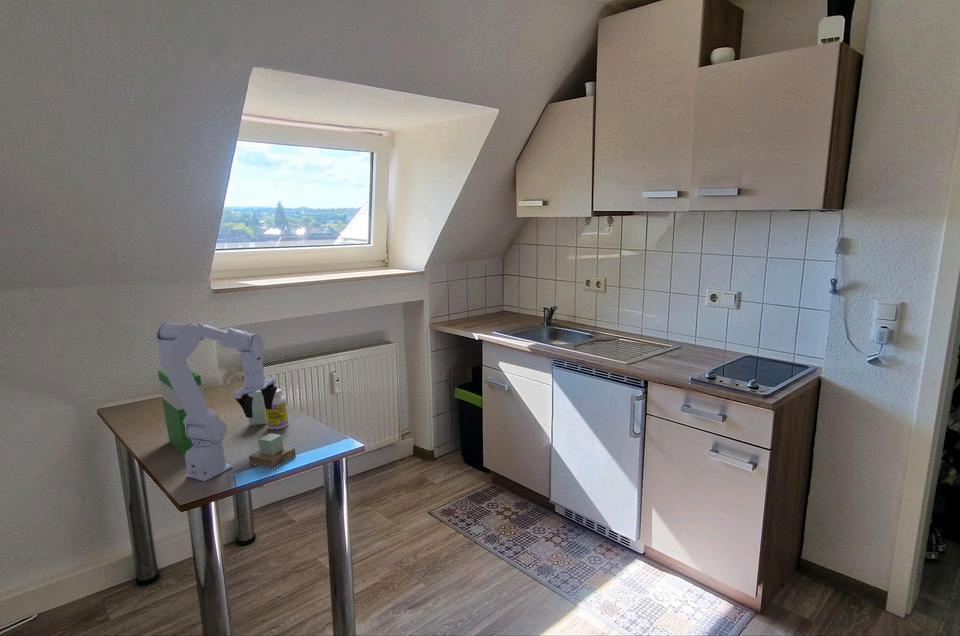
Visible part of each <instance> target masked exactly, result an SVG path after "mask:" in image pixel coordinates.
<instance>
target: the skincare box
mask: <svg viewBox="0 0 960 636" xmlns="http://www.w3.org/2000/svg"><path fill="white" fill-rule="evenodd" d="M248 396H249V397H253V401H252V413H253V417H252V418H248V425H249V426H258V425H267V417H266V409H265V405H264V399H263V395H262V392H261V390H258V391H256V392H253V393H250V394H248Z"/></svg>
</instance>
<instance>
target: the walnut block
mask: <svg viewBox="0 0 960 636" xmlns="http://www.w3.org/2000/svg"><path fill="white" fill-rule="evenodd" d="M295 455H296V456H297V453H296V448H295V447H293V446H292V447H291V446H286V445H283V450H281V451H280V452H278V453H276V454H274V455H272V456H271V455H265V454H261V453H260V449H259V450H258V451H256V452H254V453H252V454H250V455H248V458H249V459H248V461H249V464H250V463H251V464H250V465H253V464H256V465H255V466H258V465H260V466H259V467H262V466H265V467H264V468H267V467H269V468H268V469H271V468H273V469H274V467H275V468H277V467H278V466H277V465H279V464H280V465H282V464H284V463H285V461H286V460H287V461H289V460H291V459H293V458H295V457H296V456H295ZM294 456H295V457H294ZM292 457H293V458H292ZM290 458H291V459H290ZM288 459H289V460H288ZM287 461H286V462H287ZM283 462H284V463H283ZM281 463H282V464H281ZM280 465H279V466H280ZM276 466H277V467H276Z"/></svg>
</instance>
